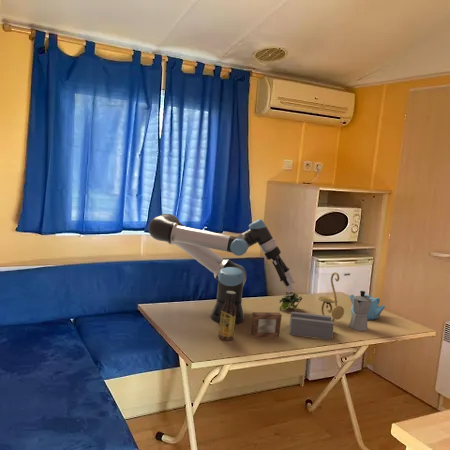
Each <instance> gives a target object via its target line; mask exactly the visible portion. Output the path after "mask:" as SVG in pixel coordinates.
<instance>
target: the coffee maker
mask: <svg viewBox="0 0 450 450" xmlns="http://www.w3.org/2000/svg"><path fill="white" fill-rule="evenodd" d="M365 295H366V291H365V290H360V295H354V297H353V311H354V312H353V314H352V313H351V318H350V321H349V325H348V328H350V329H351V330H353V331H357V332H367V331H368V328H369V327H368V320H367V314H368V311H369V308H370V304H371V299H370V298H367V296H365Z"/></svg>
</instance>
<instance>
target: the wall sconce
mask: <svg viewBox="0 0 450 450" xmlns="http://www.w3.org/2000/svg"><path fill="white" fill-rule="evenodd" d="M334 276H336V277H337V278H335V279H334ZM333 280H335V282H339V280H340V275H339V273H338V272H332V273H331V276H330V285H331V289H332V293H333V296H334V297H332V296H325V295H324V296H323V295H321V296H318V300H319V301H321V302H322V304H321V315H325V312H324V307H326V309H328V308H329V307H330V308H329V309H328V310H326V311H327V313H329V314H330V313H331V318H332V319H331V321H332V322H333V323H334V321H335V320H340V319H342V318H343V317H344V314H345V309H344V308H343V306H341V305H338V302H339V300H338V299H337V293H336V290H335V285H334V281H333ZM325 304H326V305H325ZM332 304H334V307H333V305H332Z"/></svg>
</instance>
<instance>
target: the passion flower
mask: <svg viewBox="0 0 450 450" xmlns="http://www.w3.org/2000/svg"><path fill="white" fill-rule="evenodd" d="M302 300H303V296H300V295H299V294H297V293H296V292H293V291H291V292H288V291H286V292H285V295H284V296H282V297H281V299H278V301H279V304H281V305H280V306H279V311H282V310H287V309H289V308H290V307H292V309H294V311H293V312H296V310H297V308H298V305H299V304H300V303H301V302H302ZM295 303H297V304H295Z"/></svg>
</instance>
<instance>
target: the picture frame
mask: <svg viewBox="0 0 450 450" xmlns="http://www.w3.org/2000/svg"><path fill="white" fill-rule="evenodd" d="M281 321H282V314H281V313H280V311H279V312H277V311H276V312H271V311H269V312H267V311H266V312H264V311H262V312H259V311H258V312H255V311H254V312H252V315H251V324H250V325H251V327H250V336H251V337H252V338H280V333H281V325H282V322H281Z"/></svg>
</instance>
